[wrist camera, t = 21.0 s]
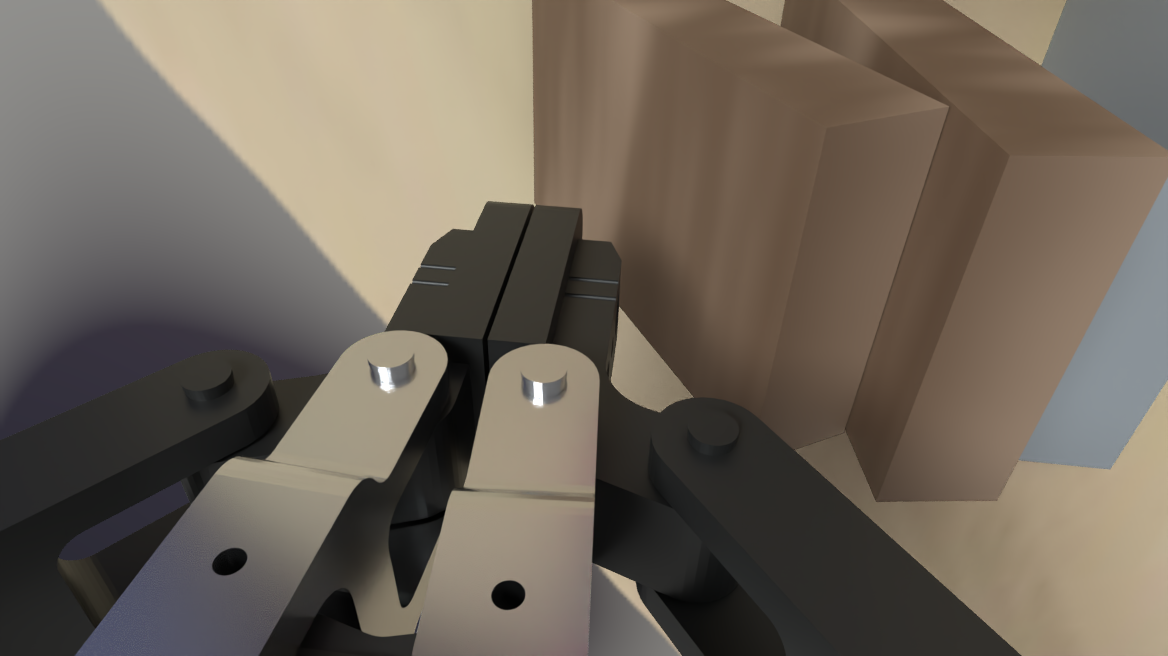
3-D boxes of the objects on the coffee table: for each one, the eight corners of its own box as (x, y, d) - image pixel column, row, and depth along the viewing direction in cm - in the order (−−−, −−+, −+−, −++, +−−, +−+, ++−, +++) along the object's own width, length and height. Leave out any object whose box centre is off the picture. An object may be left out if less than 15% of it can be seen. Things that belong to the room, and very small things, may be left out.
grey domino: (1019, 312, 22) (1200, -83, 16) (1110, 469, 17) (1415, -9, 11) (947, 305, 22) (1098, -88, 16) (1016, 460, 17) (1268, -17, 11)
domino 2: (883, -40, 17) (1177, 157, 9) (823, 205, 21) (996, 500, 13) (792, -42, 17) (1009, 155, 9) (749, 204, 20) (875, 501, 13)
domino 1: (615, -52, 17) (949, 106, 10) (603, 189, 21) (844, 433, 14) (531, -47, 17) (827, 127, 10) (534, 202, 20) (749, 465, 13)
